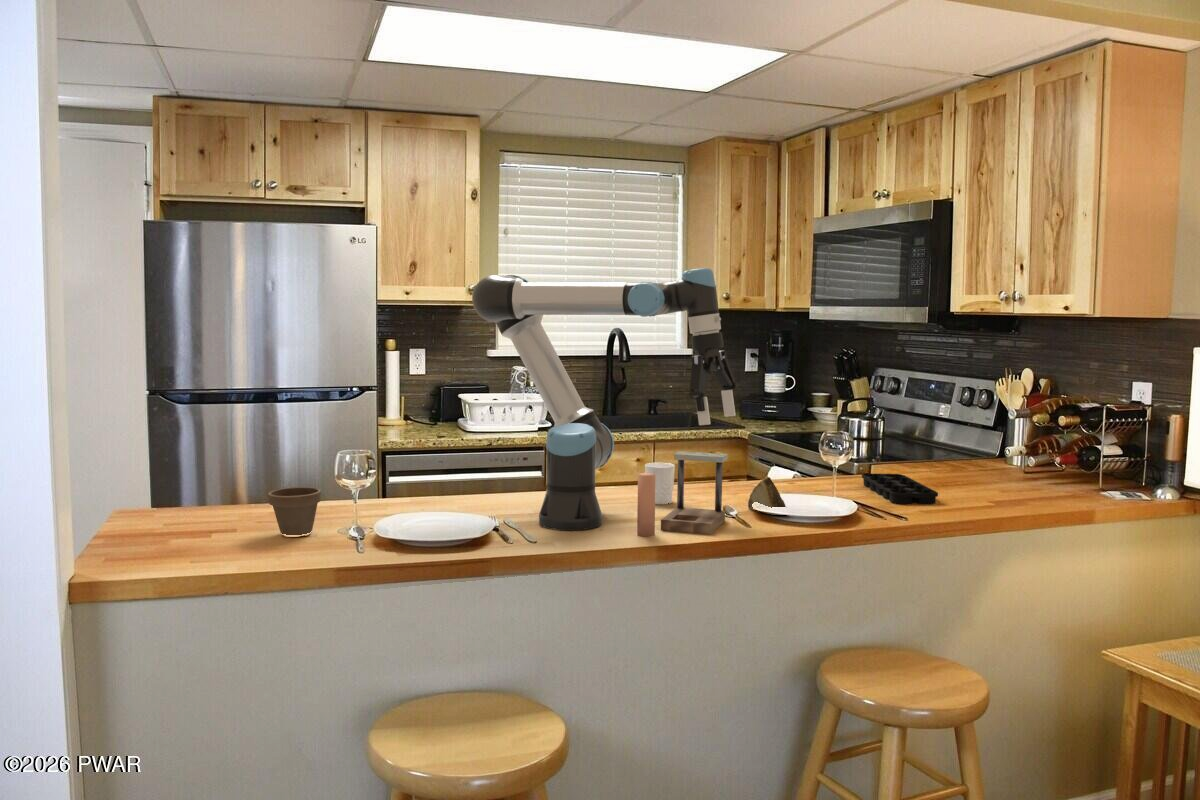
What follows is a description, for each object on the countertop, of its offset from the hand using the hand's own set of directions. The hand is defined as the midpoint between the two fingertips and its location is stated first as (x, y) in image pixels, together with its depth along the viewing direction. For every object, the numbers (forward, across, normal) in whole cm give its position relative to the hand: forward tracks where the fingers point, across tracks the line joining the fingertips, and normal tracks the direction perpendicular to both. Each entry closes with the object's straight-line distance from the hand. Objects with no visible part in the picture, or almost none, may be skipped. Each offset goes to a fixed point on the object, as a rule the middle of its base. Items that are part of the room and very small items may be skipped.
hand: (717, 420), depth 241 cm
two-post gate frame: (+21, -2, +7) cm, 23 cm away
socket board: (+24, -8, +6) cm, 26 cm away
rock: (+26, +15, -2) cm, 31 cm away
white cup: (+22, +10, +26) cm, 35 cm away
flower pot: (+11, -69, +74) cm, 102 cm away
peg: (+22, -23, +10) cm, 34 cm away
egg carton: (+32, +58, -22) cm, 70 cm away
